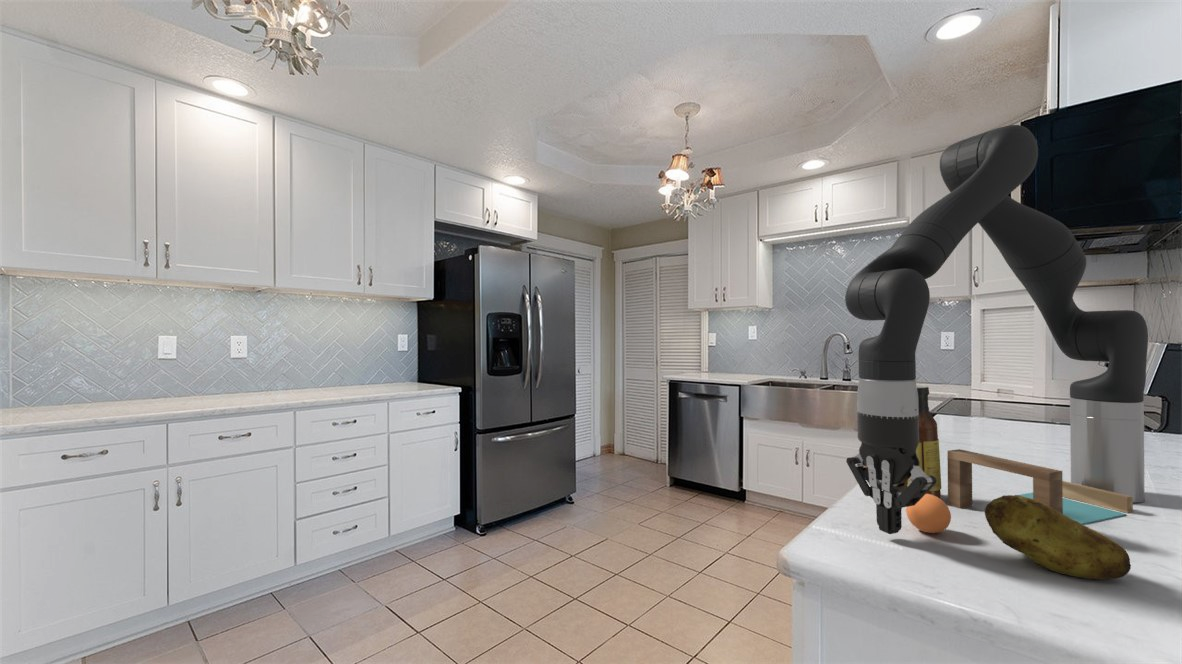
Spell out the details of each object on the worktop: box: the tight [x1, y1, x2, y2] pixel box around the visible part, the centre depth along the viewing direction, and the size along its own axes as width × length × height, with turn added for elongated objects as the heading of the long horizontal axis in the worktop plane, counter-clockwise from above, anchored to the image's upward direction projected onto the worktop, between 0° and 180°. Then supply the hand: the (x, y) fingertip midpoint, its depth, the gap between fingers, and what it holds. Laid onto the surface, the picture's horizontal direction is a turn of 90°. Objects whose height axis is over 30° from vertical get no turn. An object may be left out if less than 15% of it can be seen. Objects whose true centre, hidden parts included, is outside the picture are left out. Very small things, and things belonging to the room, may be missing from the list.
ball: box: [905, 494, 952, 534], centre depth 73 cm, size 6×6×6 cm
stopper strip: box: [1062, 480, 1134, 514], centre depth 86 cm, size 2×11×2 cm, turn 19°
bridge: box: [946, 448, 1064, 514], centre depth 78 cm, size 3×14×9 cm, turn 19°
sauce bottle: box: [907, 384, 942, 499], centre depth 89 cm, size 6×6×20 cm
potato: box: [984, 494, 1132, 580], centre depth 62 cm, size 8×13×8 cm, turn 27°
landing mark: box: [992, 492, 1127, 525], centre depth 83 cm, size 12×12×1 cm
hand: (888, 531), depth 71 cm, fingers closed
